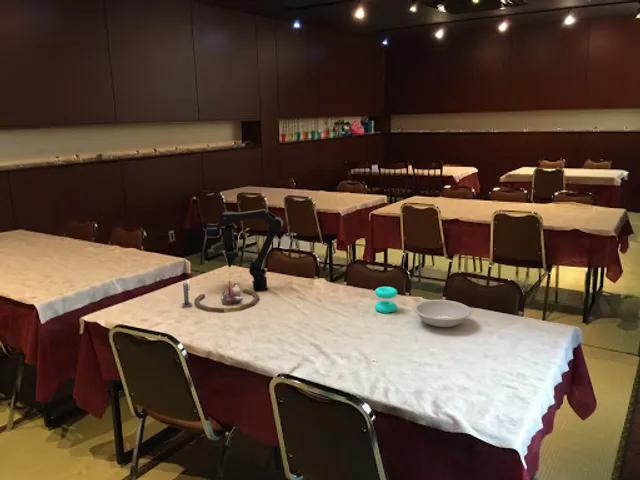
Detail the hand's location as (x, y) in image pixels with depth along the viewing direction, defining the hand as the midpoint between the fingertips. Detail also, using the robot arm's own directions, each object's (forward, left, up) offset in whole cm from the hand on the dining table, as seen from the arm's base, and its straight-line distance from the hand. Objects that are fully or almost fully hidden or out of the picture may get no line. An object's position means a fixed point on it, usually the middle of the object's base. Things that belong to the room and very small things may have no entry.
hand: (229, 267), depth 278 cm
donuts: (-61, +55, -12) cm, 84 cm away
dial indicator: (+24, +17, -12) cm, 32 cm away
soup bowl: (-76, +78, -12) cm, 110 cm away
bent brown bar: (+5, +20, -12) cm, 23 cm away
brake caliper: (+3, +20, -12) cm, 24 cm away
